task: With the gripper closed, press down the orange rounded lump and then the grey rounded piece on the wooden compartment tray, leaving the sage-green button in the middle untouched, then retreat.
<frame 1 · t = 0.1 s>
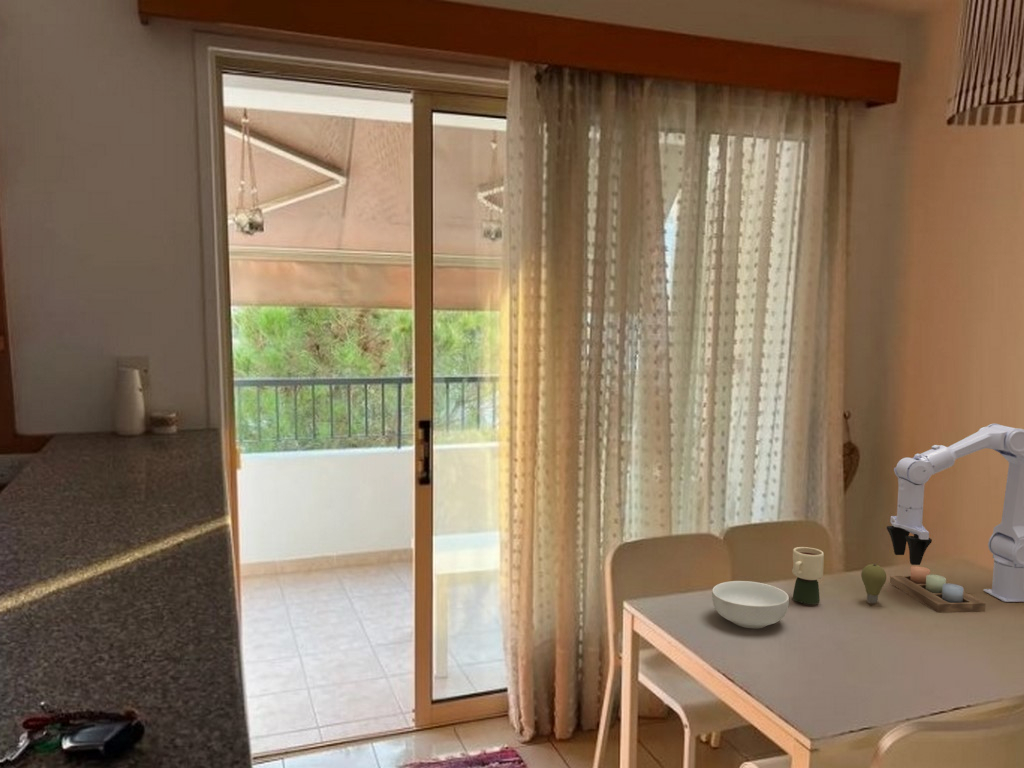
hand: (907, 559, 191), 10 cm above the table, tool pointing down, fingers open, 7 cm apart
orange rounded lump: (920, 575, 200), point 3 cm above the table, slide at 0.0 cm
cereal bowl: (748, 622, 176), on the table
character mug: (805, 603, 189), on the table
wooden compartment tray: (934, 596, 194), on the table
grey rounded piece: (952, 593, 187), point 3 cm above the table, slide at 0.0 cm
sage button: (935, 584, 193), point 3 cm above the table, slide at 0.0 cm
light bulb: (872, 604, 188), on the table
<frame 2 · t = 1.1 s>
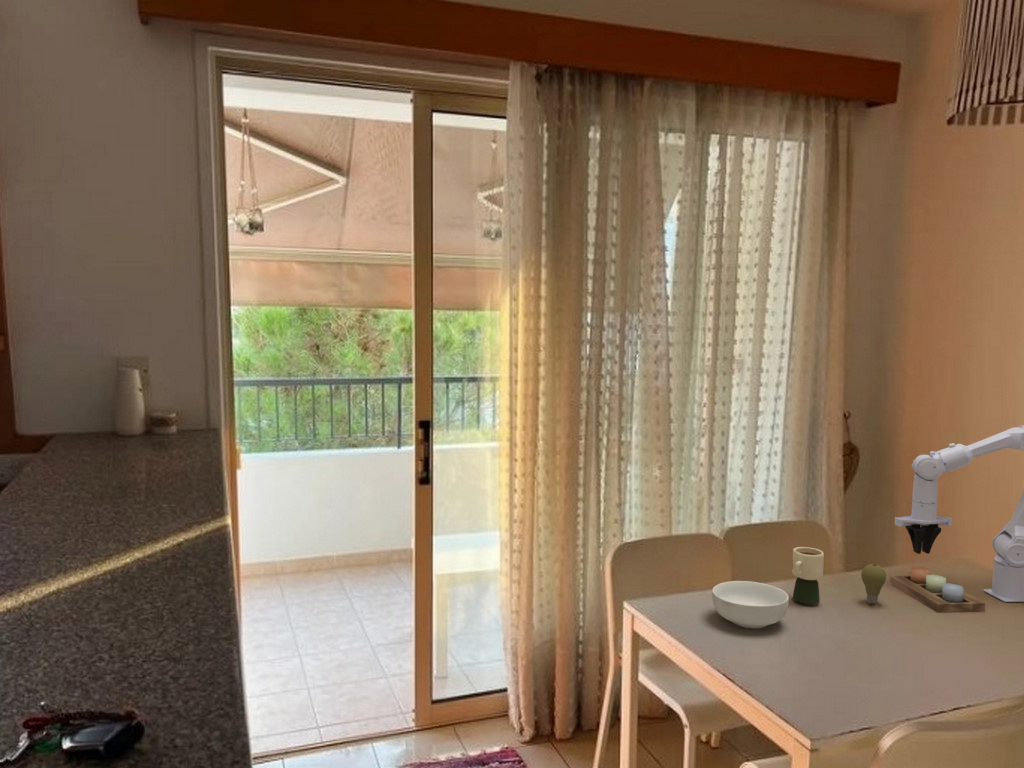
hand: (921, 552, 199), 9 cm above the table, tool pointing down, fingers closed
nothing on the table moved.
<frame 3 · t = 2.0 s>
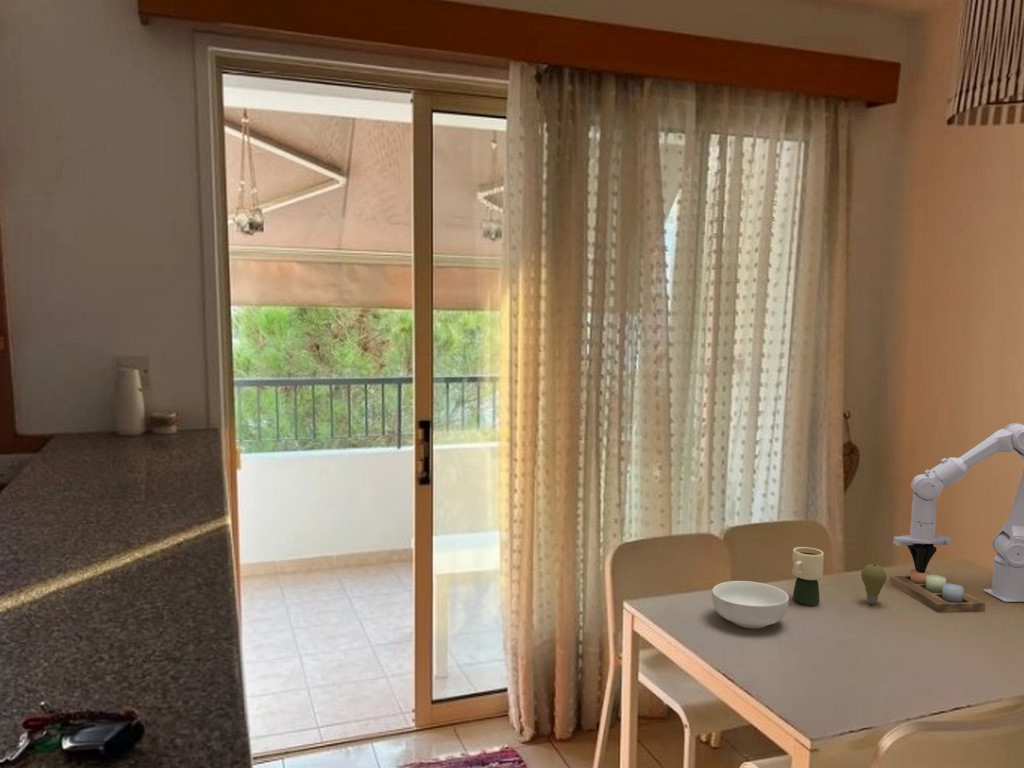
hand: (920, 571, 200), 4 cm above the table, tool pointing down, fingers closed, pressing on orange rounded lump
orange rounded lump: (919, 578, 200), point 3 cm above the table, slide at 0.7 cm, touching gripper
everything else where it was.
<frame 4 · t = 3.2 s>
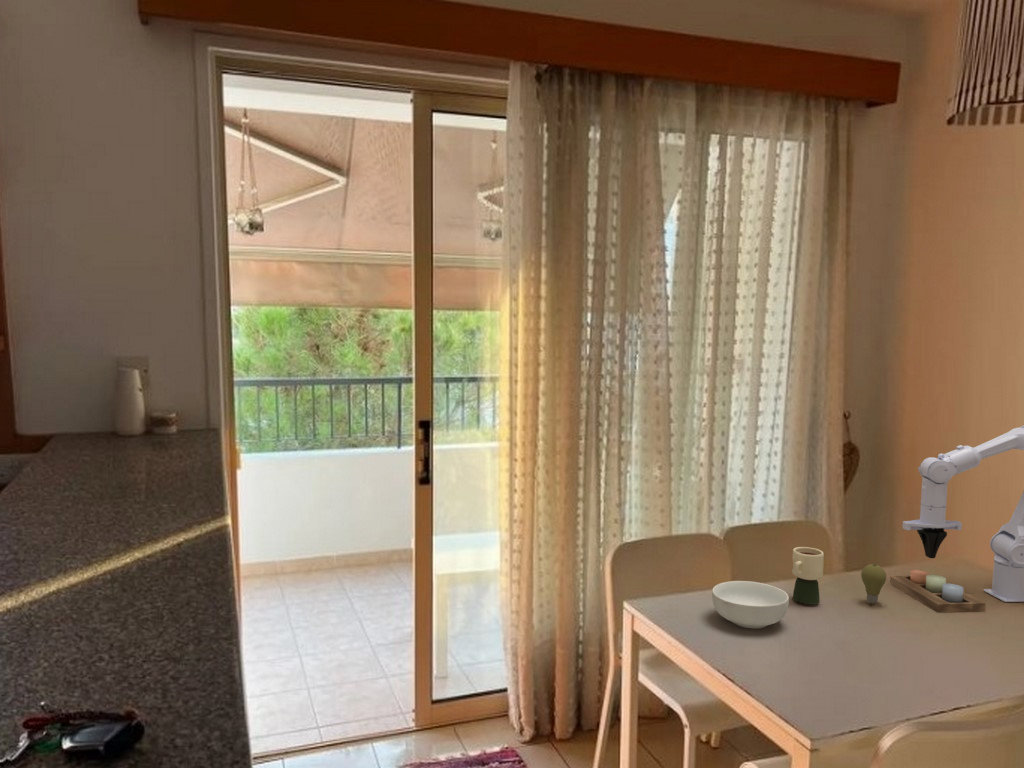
hand: (930, 557, 196), 9 cm above the table, tool pointing down, fingers closed
orange rounded lump: (919, 579, 200), point 2 cm above the table, slide at 1.0 cm
everything else where it was.
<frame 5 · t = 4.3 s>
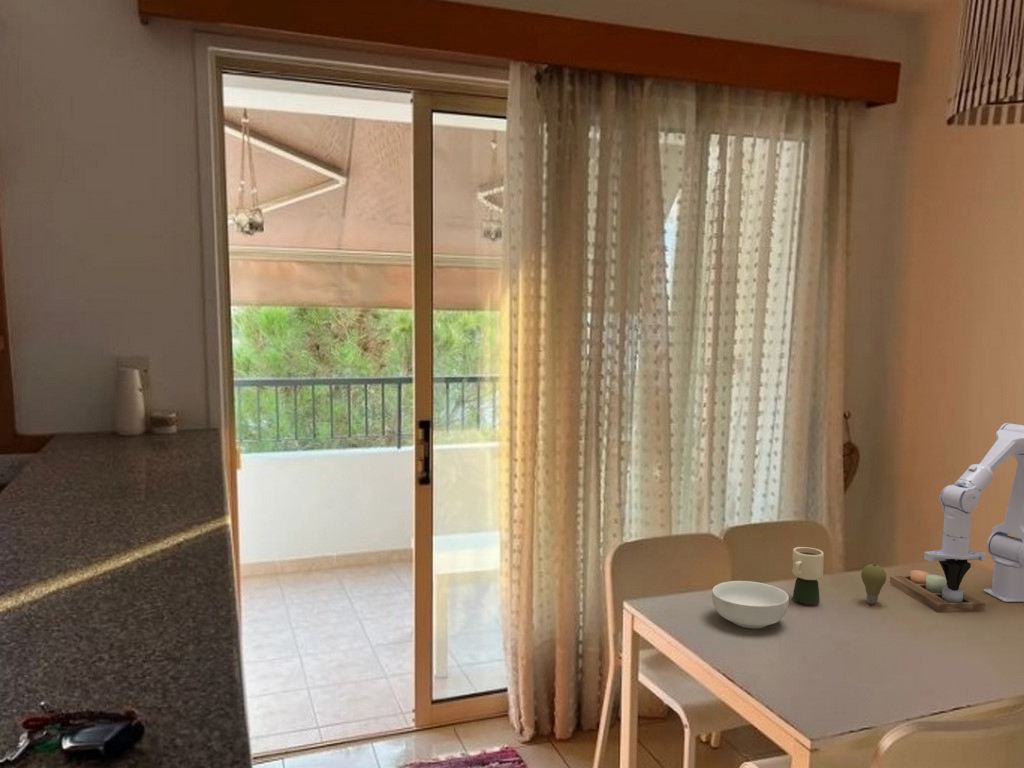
hand: (952, 589, 187), 4 cm above the table, tool pointing down, fingers closed, pressing on grey rounded piece
grey rounded piece: (952, 595, 187), point 3 cm above the table, slide at 0.6 cm, touching gripper
everything else where it was.
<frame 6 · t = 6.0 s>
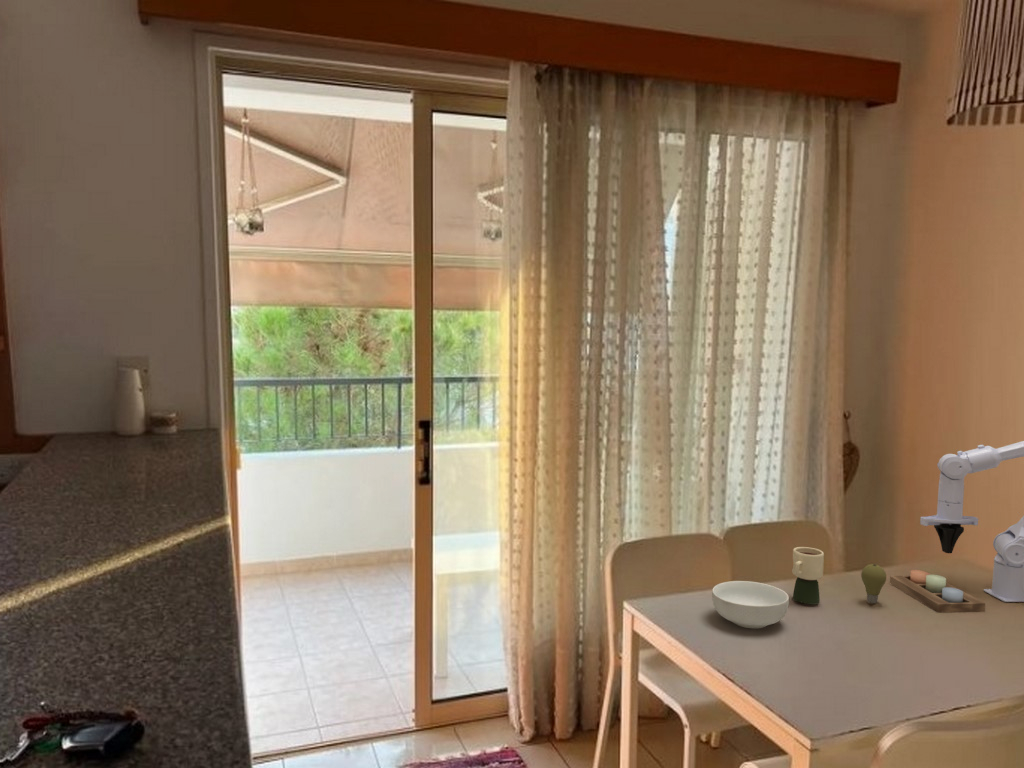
hand: (947, 552, 198), 10 cm above the table, tool pointing down, fingers closed
grey rounded piece: (952, 597, 187), point 2 cm above the table, slide at 1.0 cm
everything else where it was.
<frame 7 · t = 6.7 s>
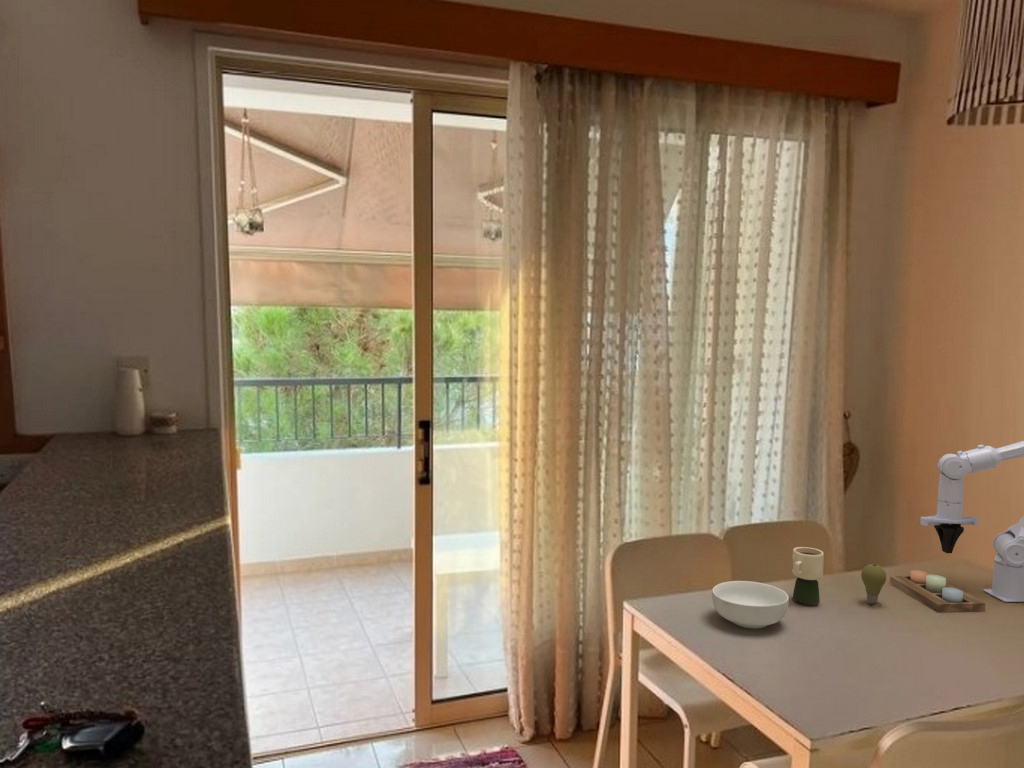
hand: (947, 552, 198), 10 cm above the table, tool pointing down, fingers closed
nothing on the table moved.
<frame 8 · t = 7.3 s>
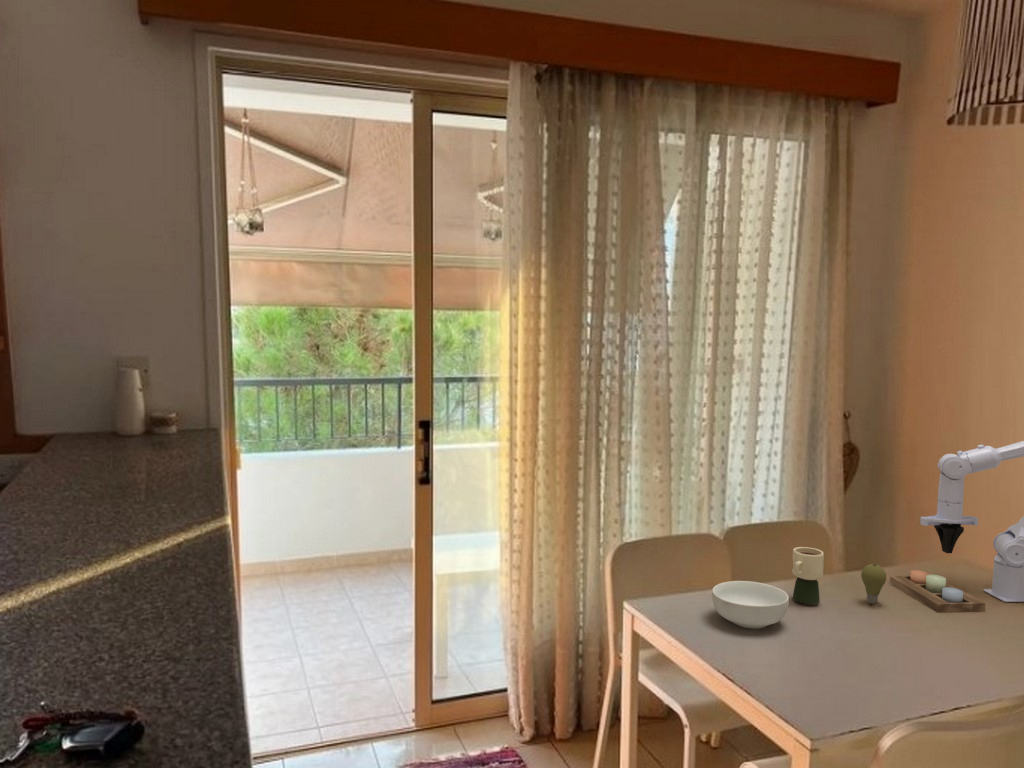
hand: (947, 552, 198), 10 cm above the table, tool pointing down, fingers closed
nothing on the table moved.
at the end: orange rounded lump slide at 1.0 cm; grey rounded piece slide at 1.0 cm; sage button slide at 0.0 cm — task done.
